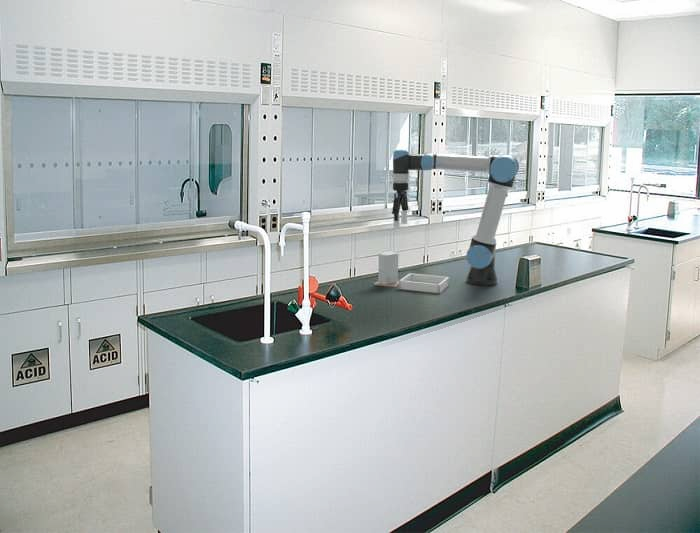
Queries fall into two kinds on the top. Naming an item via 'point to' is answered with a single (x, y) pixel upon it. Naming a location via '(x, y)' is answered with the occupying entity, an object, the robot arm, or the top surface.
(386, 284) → the tile
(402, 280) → the bin
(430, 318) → the top surface
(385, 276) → the skincare box
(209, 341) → the top surface
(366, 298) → the top surface
